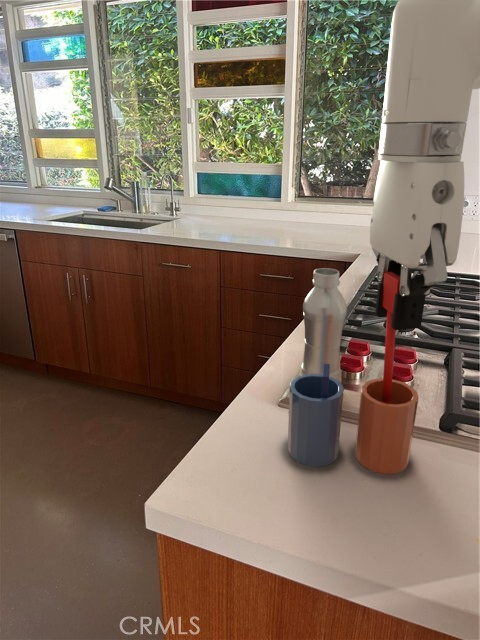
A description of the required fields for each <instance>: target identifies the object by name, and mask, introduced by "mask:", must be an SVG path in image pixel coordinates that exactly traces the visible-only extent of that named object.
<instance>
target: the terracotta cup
mask: <svg viewBox="0 0 480 640" xmlns="http://www.w3.org/2000/svg"><path fill="white" fill-rule="evenodd" d="M382 393H383V377H382V378H373V379H370V380H368V381H365V382H364V383H363V384H362V386H361V389H360V398H359V409H358V410H359V411H358V417H357V431H356V439H355V447H354V452H355V454H354V455H355V458H356V460H357V461H358V463H359V464H360V465H361V466H362V467H364V468H365V469H367V470H369V471H371V472H374V473H377V474H381V475H395V474H399V473H401V472H403V471H404V470H406V468H407V467H408V465H409V461H410V456H411V449H412V444H413V435H414V429H415V423H416V417H417V410H418V405H419V404H418V403H419V398H420V397H419V393H418V392H417V390H416V389H415V388H414V387H413V386H411V385H409V384H408V383H405V382H403V381H400V380H398V379H393V378H392V391H391V401H390V402H388V403H385V402H384V401H383V400H382Z"/></svg>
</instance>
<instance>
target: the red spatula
mask: <svg viewBox="0 0 480 640" xmlns="http://www.w3.org/2000/svg"><path fill="white" fill-rule="evenodd" d="M383 286H384V288H383V307H384V308H385V309H387V310H388V311H387V317H386V323H385V341H384V342H385V343H384V345H385V346H384V359H383V375H382V376H383V377H382V378H383V393H382V400H383V401H384V402H385V403H388V402H390V401H391V391H392V379H393V376H394V359H395V343H396V330H394V329H393V328H392V327H391V323H392V315H393V307H394V299H395V293H400V277H399V276H397V275H396V274H394V273H392V272H384V284H383Z"/></svg>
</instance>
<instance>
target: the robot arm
mask: <svg viewBox="0 0 480 640" xmlns="http://www.w3.org/2000/svg"><path fill="white" fill-rule="evenodd" d="M478 89H480V0H398V1H397V3H396V5H395V7H394V9H393V13H392V19H391V27H390V37H389V45H388V56H387V66H386V77H385V87H384V97H383V108H382V117H381V119H382V120H381V124H380V125H381V127H380V135H379V144H378V145H379V147H378V157H377V160H378V161H380V163H379V168H378V173H377V177H376V183H375V188H374V194H373V201H372V207H371V215H370V225H369V244H370V247H371V249H372V252H373V254H374V256H375V257H376V264H377V266H378V267H377V272H376V279H377V281H378V284H377V292H376V302H375V310H374V312H375V316H376V317H378V318H387V311H388V310H387V309H385V308H384V307H383V288H384V286H383V284H384V272H392V273H394V274H396V275H397V276H399V277H400V293H395V299H394V307H393V315H392V323H391V327H392V328H393V329H394V330H395V331H403V330H413V329H414V330H415V329H420V328H421V326H422V322H423V315H424V311H425V303H426V296H427V295H429V294H430V292H431V288H433V287H434V286H435V285H437V284H440V283H443V282H446V281H447V280H448V270H447V267H451V266H453V265H454V264H455V263H456V261H457V259H458V258H457V257H458V254H459V248H460V240H461V233H462V224H463V216H464V205H465V204H464V202H465V166H464V165H465V164H464V161H461V160H462V154H463V149H464V142H465V137H466V132H467V131H466V130H467V125H468V124H467V122H468V119H469V111H470V106H471V100H472V94H473V90H478ZM421 260H422V262H420V261H421ZM413 272H420V273H417V274H415V275H414V276H413ZM412 276H413V277H412Z"/></svg>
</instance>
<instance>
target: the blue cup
mask: <svg viewBox="0 0 480 640" xmlns="http://www.w3.org/2000/svg"><path fill="white" fill-rule="evenodd" d="M322 382H323V375H322V374H306V375H301V376H296V377H294V378H293V379H292V380H291V381H290V382H289V390H288V391H289V393H288V422H287V423H288V424H287V425H288V427H287V430H288V431H287V452H288V455H289V456H290V457H291V458H292V459H293V460H294V461H295V462H296V463H298V464H301V465H302V466H305V467H306V466H307V467H310V468H311V467H312V468H322V467H326V466H329V465H331V464H333V463H334V462H335V461H336V460H337V458H338V456H339V449H340V438H341V426H342V425H341V424H342V413H343V400H344V386H343V384H342V382H341V383H340V382H339V381H338V380H336V379H334V378H332V377H329V386H328V393H329V396H328V398H321V392H322Z"/></svg>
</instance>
